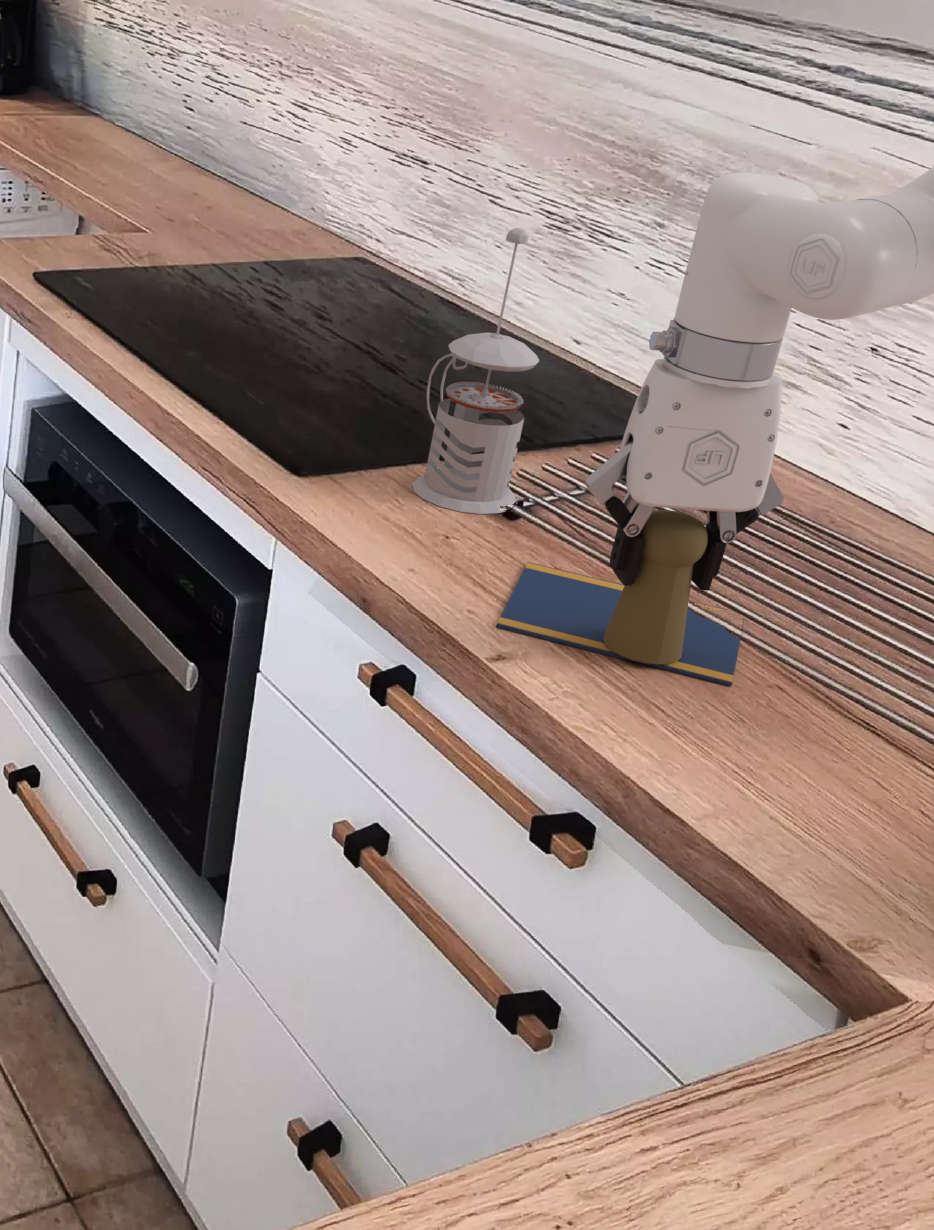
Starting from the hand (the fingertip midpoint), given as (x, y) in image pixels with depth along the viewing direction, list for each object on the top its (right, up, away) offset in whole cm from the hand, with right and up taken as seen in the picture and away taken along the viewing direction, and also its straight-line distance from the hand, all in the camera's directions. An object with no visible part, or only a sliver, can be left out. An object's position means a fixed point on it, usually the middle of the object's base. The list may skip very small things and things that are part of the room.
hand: (660, 578), depth 132 cm
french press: (-8, +10, +31) cm, 33 cm away
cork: (0, -5, +3) cm, 6 cm away
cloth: (0, -3, +8) cm, 8 cm away
